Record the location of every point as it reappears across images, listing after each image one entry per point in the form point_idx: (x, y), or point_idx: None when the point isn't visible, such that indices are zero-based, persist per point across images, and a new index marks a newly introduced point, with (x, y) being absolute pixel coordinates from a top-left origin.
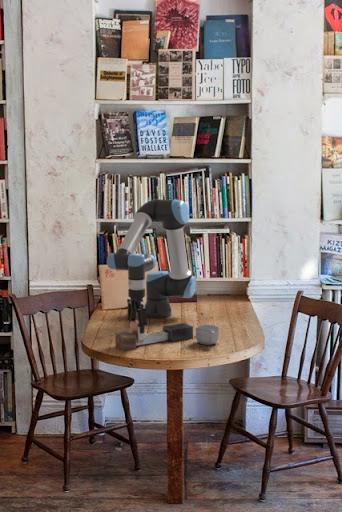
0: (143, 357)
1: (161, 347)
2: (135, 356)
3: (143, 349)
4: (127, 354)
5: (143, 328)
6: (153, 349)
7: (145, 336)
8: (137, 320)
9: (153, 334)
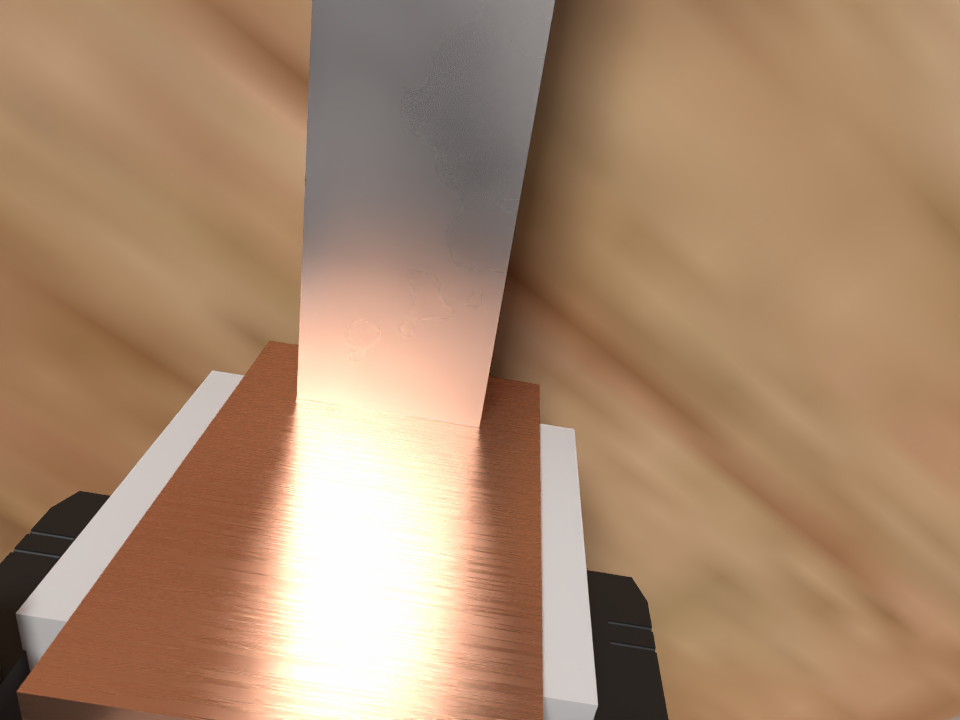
0: (956, 669)
1: (863, 133)
2: (827, 700)
3: (672, 448)
4: (674, 708)
5: (657, 702)
6: (816, 336)
7: (492, 344)
8: (103, 710)
9: (488, 64)
